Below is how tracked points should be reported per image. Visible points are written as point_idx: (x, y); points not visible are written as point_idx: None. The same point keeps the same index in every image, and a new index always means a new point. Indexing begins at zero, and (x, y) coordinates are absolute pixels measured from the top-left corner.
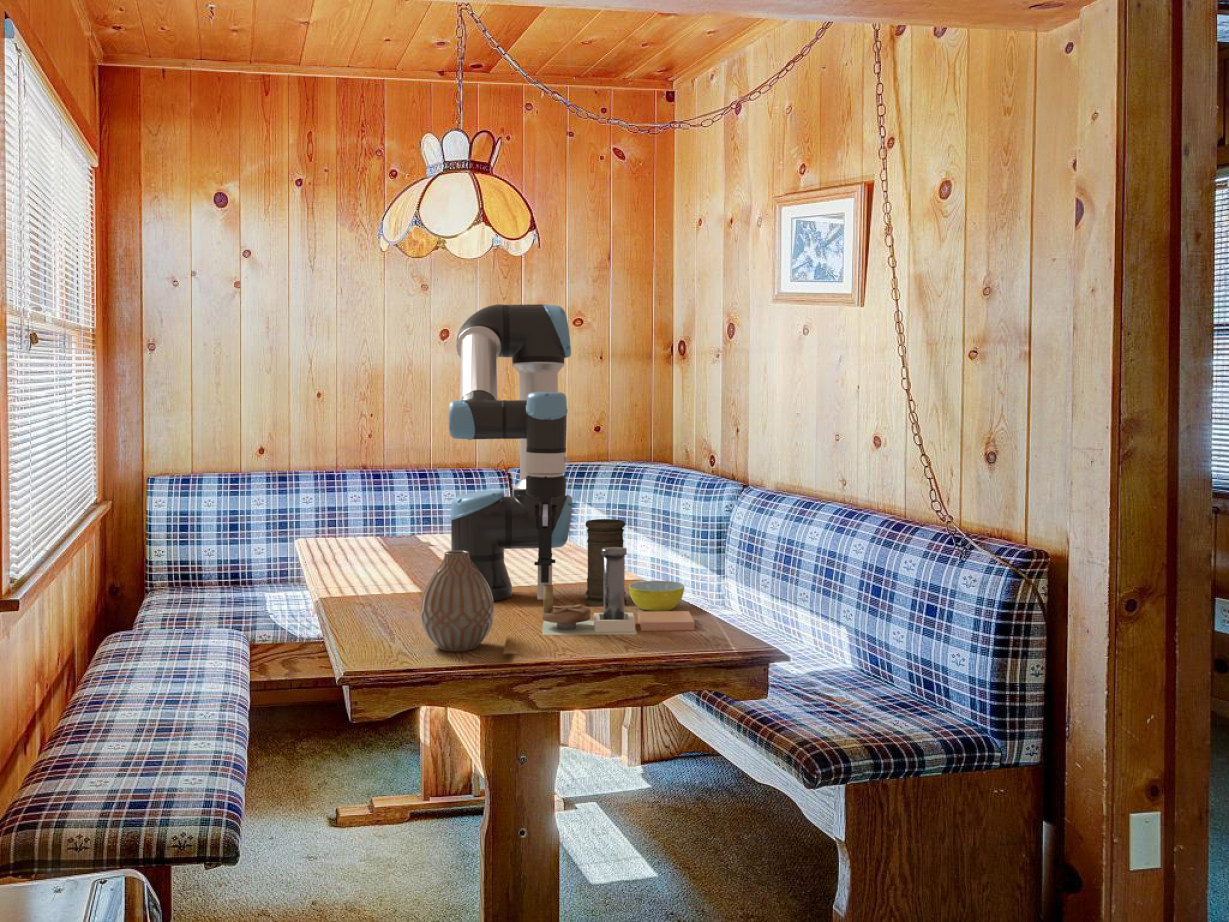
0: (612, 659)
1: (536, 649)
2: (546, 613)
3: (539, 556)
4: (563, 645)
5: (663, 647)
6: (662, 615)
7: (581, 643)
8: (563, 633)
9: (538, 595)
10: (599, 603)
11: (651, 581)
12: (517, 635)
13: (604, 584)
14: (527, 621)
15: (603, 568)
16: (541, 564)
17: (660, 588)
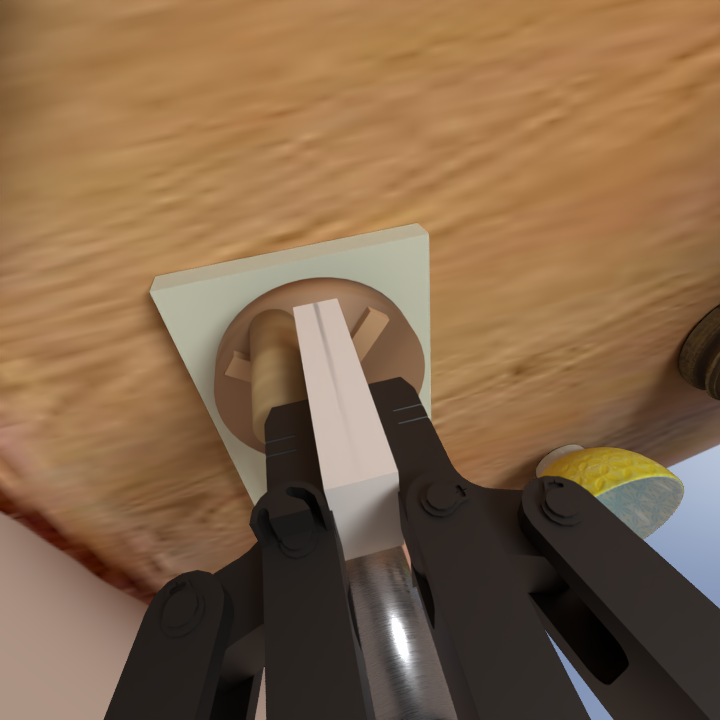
0: (18, 513)
1: (21, 279)
2: (243, 328)
3: (114, 710)
4: (146, 356)
5: (218, 552)
6: (402, 545)
7: (200, 398)
8: (207, 361)
9: (297, 324)
10: (702, 339)
11: (677, 501)
12: (278, 125)
13: (353, 588)
14: (569, 117)
15: (388, 658)
16: (240, 560)
17: (647, 501)
